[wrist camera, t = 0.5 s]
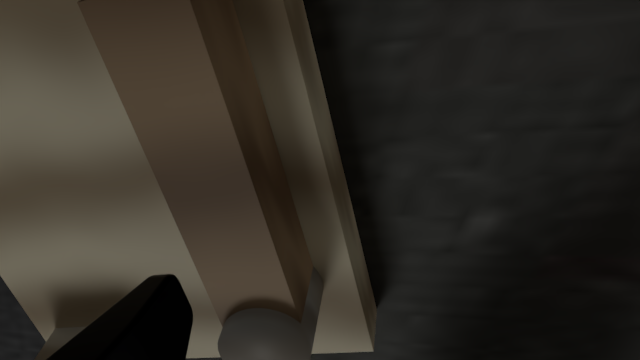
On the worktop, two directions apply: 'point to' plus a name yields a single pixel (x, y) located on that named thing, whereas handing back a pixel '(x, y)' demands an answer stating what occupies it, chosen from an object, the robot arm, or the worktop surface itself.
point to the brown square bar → (215, 165)
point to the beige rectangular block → (152, 179)
